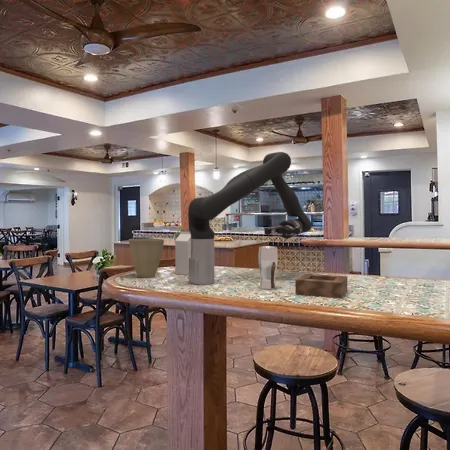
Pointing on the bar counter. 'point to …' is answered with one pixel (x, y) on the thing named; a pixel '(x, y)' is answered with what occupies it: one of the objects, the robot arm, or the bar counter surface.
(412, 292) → the bar counter surface
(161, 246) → the plant pot
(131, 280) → the bar counter surface
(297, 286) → the walnut well block
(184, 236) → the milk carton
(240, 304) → the bar counter surface
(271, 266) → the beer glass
